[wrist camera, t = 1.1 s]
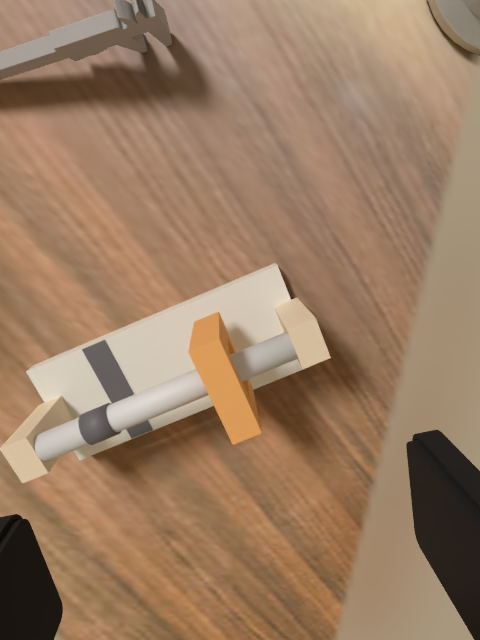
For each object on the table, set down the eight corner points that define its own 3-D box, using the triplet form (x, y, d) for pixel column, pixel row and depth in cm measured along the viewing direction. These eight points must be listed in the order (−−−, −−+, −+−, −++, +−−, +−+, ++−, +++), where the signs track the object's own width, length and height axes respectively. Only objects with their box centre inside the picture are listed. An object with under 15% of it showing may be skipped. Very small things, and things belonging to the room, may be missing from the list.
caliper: (169, 30, 29) (157, -17, 23) (173, 47, 30) (162, 5, 24) (-109, 96, 29) (-193, 67, 23) (-102, 113, 30) (-183, 88, 24)
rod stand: (280, 260, 34) (300, 276, 26) (317, 355, 36) (345, 396, 28) (28, 367, 35) (-27, 413, 27) (80, 452, 37) (43, 517, 29)
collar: (218, 311, 31) (219, 338, 24) (253, 388, 33) (262, 433, 26) (194, 321, 31) (188, 351, 24) (229, 397, 33) (232, 444, 26)
